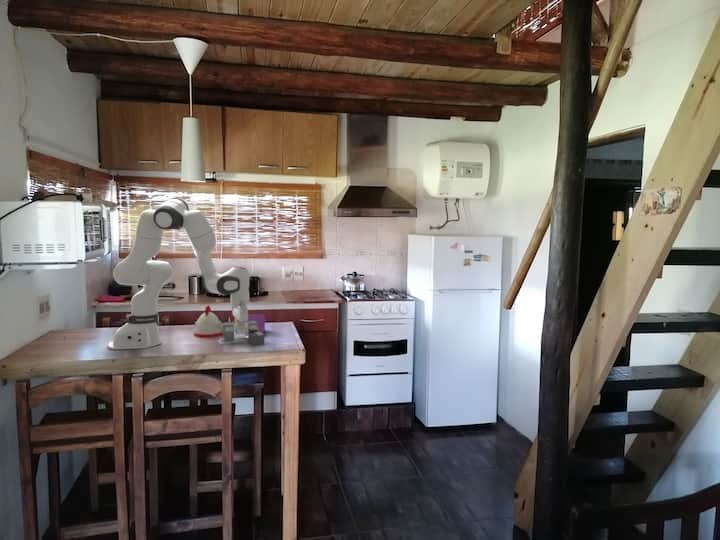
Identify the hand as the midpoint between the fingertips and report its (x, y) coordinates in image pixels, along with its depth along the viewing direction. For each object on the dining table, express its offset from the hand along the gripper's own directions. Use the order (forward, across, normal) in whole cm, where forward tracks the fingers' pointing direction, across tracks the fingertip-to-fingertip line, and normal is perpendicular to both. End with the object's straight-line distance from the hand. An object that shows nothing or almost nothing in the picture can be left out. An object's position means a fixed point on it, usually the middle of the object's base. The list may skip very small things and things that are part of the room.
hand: (240, 328), depth 233 cm
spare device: (+7, -8, -6) cm, 12 cm away
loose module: (+2, 0, 0) cm, 2 cm away
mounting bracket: (+7, +13, -10) cm, 18 cm away
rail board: (+7, +1, 0) cm, 7 cm away
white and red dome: (+7, +20, +12) cm, 25 cm away
